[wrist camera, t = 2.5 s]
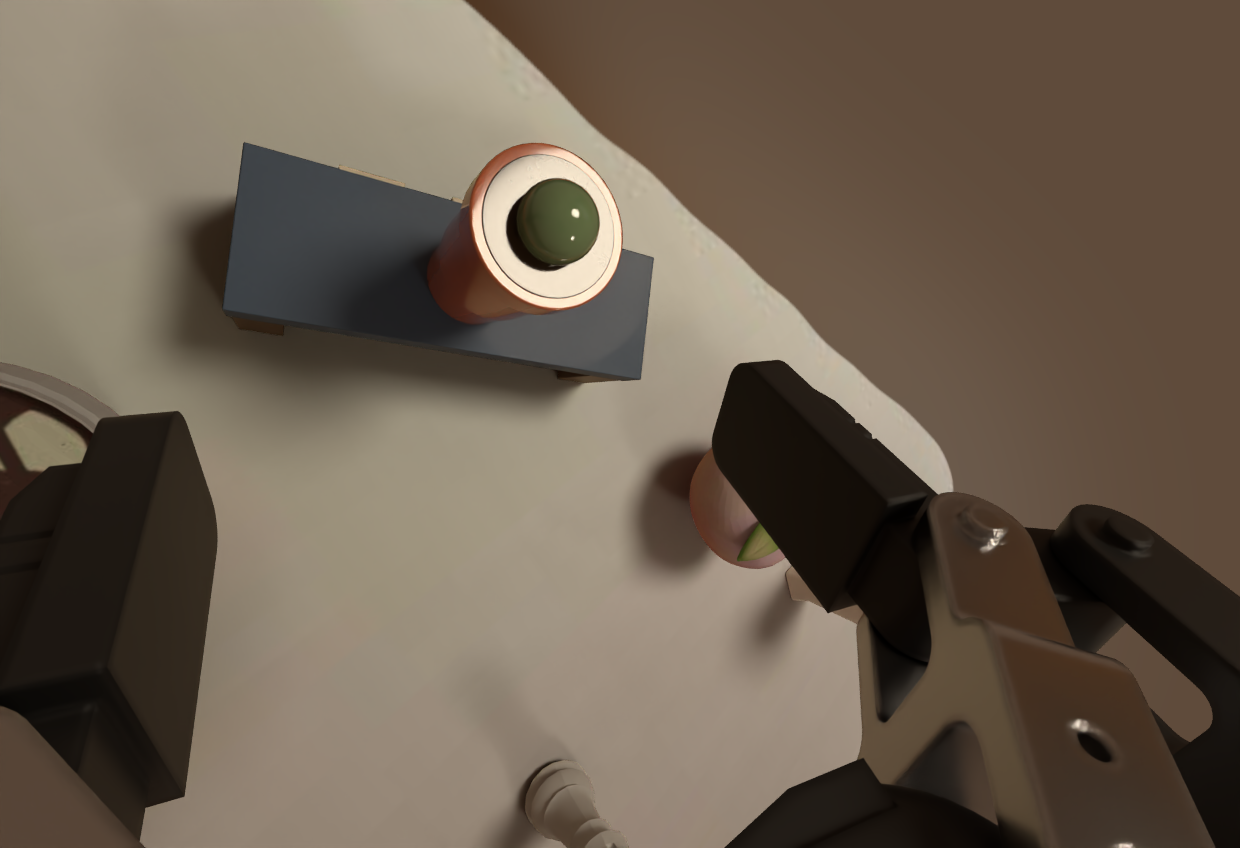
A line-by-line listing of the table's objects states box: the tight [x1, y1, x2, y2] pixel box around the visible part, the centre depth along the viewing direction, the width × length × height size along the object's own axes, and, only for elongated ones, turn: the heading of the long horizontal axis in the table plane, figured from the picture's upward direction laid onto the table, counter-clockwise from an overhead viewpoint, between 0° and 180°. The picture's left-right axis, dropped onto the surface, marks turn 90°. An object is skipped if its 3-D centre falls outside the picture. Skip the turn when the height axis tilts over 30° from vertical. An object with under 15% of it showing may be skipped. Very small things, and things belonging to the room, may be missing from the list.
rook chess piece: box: [525, 760, 629, 848], centre depth 37 cm, size 4×4×8 cm
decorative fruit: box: [690, 448, 786, 569], centre depth 41 cm, size 9×8×10 cm
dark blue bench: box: [222, 142, 654, 383], centre depth 33 cm, size 20×7×7 cm, turn 83°
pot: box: [427, 143, 623, 324], centre depth 25 cm, size 6×6×12 cm
